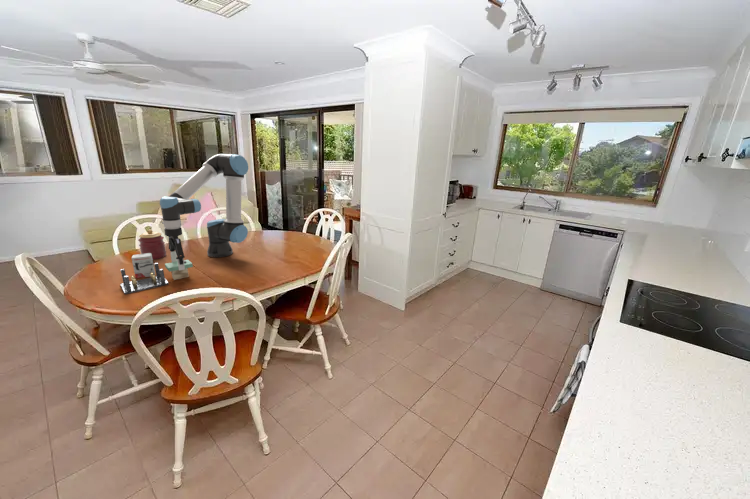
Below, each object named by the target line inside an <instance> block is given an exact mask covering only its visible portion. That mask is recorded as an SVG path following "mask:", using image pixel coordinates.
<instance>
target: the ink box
mask: <svg viewBox="0 0 750 499" xmlns="http://www.w3.org/2000/svg"><path fill="white" fill-rule="evenodd" d="M153 260H154V259H152V254H151V253H146V254H141V253H139V254H133V255H132V256H131V261H132V266H133V273H134V277H135V279H143V278H150V277H151V275H150V273H151V272H153V273H154V275H156V271H155V266H154V261H153Z"/></svg>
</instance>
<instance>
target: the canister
mask: <svg viewBox="0 0 750 499" xmlns="http://www.w3.org/2000/svg"><path fill="white" fill-rule="evenodd" d="M137 241H139V249H140V254H146V253H151V254H152V259H153V260H157V259H162V258H164V257H166V256H167V250H166V246H165V241H164V236H162V232H161V233H160V232H159V231H153V229H147V230H146V231H145V232H143V233H141V234H140V235H139V239H138V240H137Z"/></svg>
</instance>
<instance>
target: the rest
mask: <svg viewBox="0 0 750 499" xmlns="http://www.w3.org/2000/svg"><path fill="white" fill-rule="evenodd" d="M170 272H171V277H172V279H173V281H175V280H181V279H186V278H188V277H190V274H189V268H185V270H180V271H179V270H175V271H170Z"/></svg>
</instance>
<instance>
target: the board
mask: <svg viewBox="0 0 750 499" xmlns="http://www.w3.org/2000/svg"><path fill="white" fill-rule="evenodd" d="M184 265H185V268H188V269H190V268H194V265H193V262H191V261H190V260H189V259H184ZM164 268H165V269H166V270H167V271H168V272H169V273H170V272H171V271H175V270H179V268H178V261H177V262H172V261H171V262H168V263H167V262H166V263H164Z"/></svg>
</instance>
